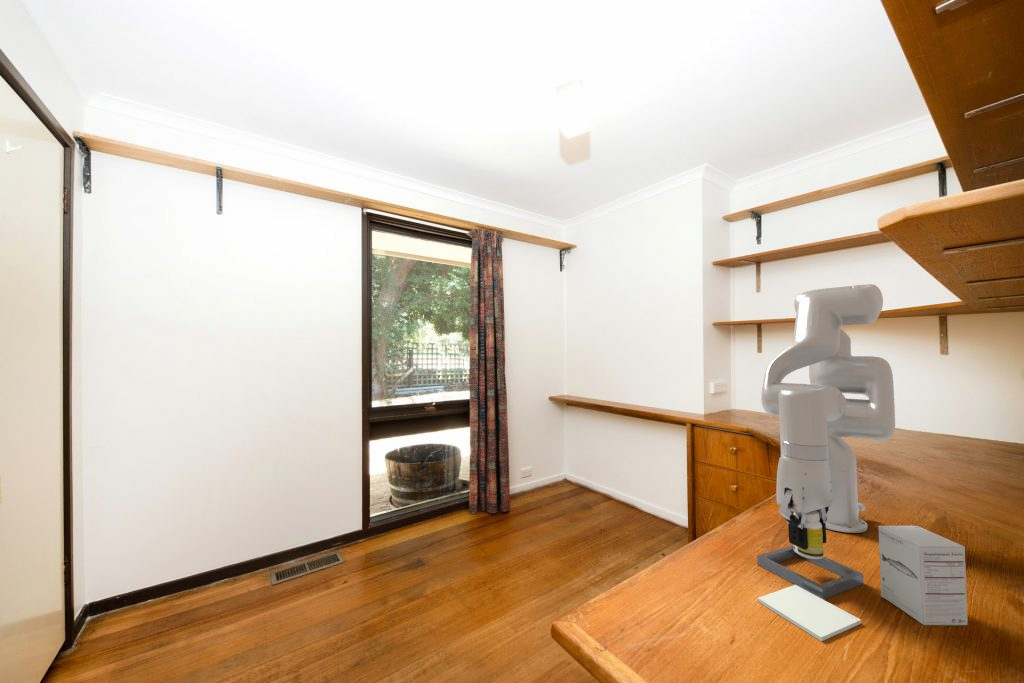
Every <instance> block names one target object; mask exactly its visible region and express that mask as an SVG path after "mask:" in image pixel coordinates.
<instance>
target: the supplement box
mask: <svg viewBox="0 0 1024 683" xmlns="http://www.w3.org/2000/svg"><path fill="white" fill-rule="evenodd" d="M878 548H879V549H878V552H879V553H878V554H879V576H880V578H879V580H880V596H881V598H883V599H885V600H886V601H888V602H889V603H891V604H893V605H894V606H896V607H897V608H899V609H900V610H902V612H904V613H906V614H907V615H909V616H910V617H911V618H912V619H915V620H916V621H917V622H919V623H920V624H921V625H923V626H968V624H969V623H968V599H967V598H968V596H967V593H968V592H967V572H966V547H965V546H964V545H962V544H960V543H957V542H955V541H953V540H950V539H948V538H946V537H943V535H939V534H937V533H934V532H932V531H930V530H927V529H926V528H923V527H921V526H920V525H919V526H918V525H878Z"/></svg>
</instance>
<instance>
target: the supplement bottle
mask: <svg viewBox="0 0 1024 683" xmlns="http://www.w3.org/2000/svg"><path fill="white" fill-rule="evenodd" d="M794 508H795V509H797V506H794ZM794 515H795V516H796V517H797V518H798V519H799V514H798V513H795V512H794ZM819 519H820V518H819V512H818V511H816V510H815V511H811V512H808V513H806V520H805V527H804V528H806V529H807V535H808V549H806V550H805V549H802V548H800V547H798V546H796V545H793V544H792V545H793V549H794V551H795V552H796V553H797V554H799V555H801V556H803V557H806V558H809V559H821V558H823V556H824V543H823V532H822V524H821V523H820V522H819ZM824 557H825V556H824Z"/></svg>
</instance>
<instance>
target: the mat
mask: <svg viewBox="0 0 1024 683" xmlns="http://www.w3.org/2000/svg"><path fill="white" fill-rule="evenodd" d="M757 602H758V603H760V604H761V605H762V606H764V607H766V608H767V609H769V610H770V611H772V612H773V613H776V614H777V615H779V616H780V617H782V618H783V619H785V620H786V621H788V622H790V623H791V624H793V625H794V626H796V627H797V628H799V629H801V630H803V632H805V633H807V634H809V635H810V636H812V637H813V638H815V639H816V640H818V641H820V642H823V641H826V640H828V639H830V638H832V637H834V636H836V635H839V634H841V633H843V632H846V631H848V630H850V629H853V628H855V627H856V626H859V625H861V624H862V620H861V619H860V618H859V617H857V616H855V615H853V614H851V613H849V612H847V611H846V610H844V609H842V608H839V607H838V606H836V605H835V604H832V603H830V602H828V601H827V600H826V599H821V598H819V597H817V596H816V595H814V594H812V593H810V592H808V591H806V590H804V589H802V588H801V587H799V586H797V585H795V584H793V585H790V586H788V587H784V588H782V589H779V590H777V591H776V590H775V591H774V592H771V593H767V594H765V595H763V596H759V597H757Z"/></svg>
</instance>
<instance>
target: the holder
mask: <svg viewBox="0 0 1024 683" xmlns="http://www.w3.org/2000/svg"><path fill="white" fill-rule="evenodd" d="M756 556H757V562H756V564H757V565H758V566H759V567H762V568H764V570H767V571H769V572H770V573H772V574H775V575H776V576H778V577H780V578H782V579H783V580H785V581H788V582H790V583H791V584H793V585H797V586H799V587H801V588H802V589H804V590H806V591H808V592H810V593H812V594H814V595H816V596H817V597H819V598H821V599H823V600H826V599H829V598H831V597H834V596H836V595H839V594H841V593H844V592H846V590H847V591H849V590H852V589H855V588H857V587H859V586H861V585H864V584H865V581H864V580H865V579H864V578H865V577H864V573H862V572H860V571H857V570H855V569H854V568H850V567H848V566H846V565H843V564H841V563H839V562H837V561H835V560H833V559H830V558H828V557H827V556H826V557H825V556H823V558H821V559H809V558H806V557H803V556H801V555H799V554H797V553H796V552H795V551H794V549H793V544H792V545H789V546H785V547H783V548H778V549H775V550H772V551H769V552H768V551H767V552H765V553H761V554H759V555H756ZM797 557H799V558H802V559H804V560H806V561H809V562H810V563H812V564H815V565H817V566H818V567H820V568H823V569H825V570H827V571H829V572H832V573H833V574H836V575H838V576H839V577H838V578H834V579H831V580H829V581H827V582H826V581H825V582H823V583H821V584H819V583H817V582H816V581H814V580H812V579H809V578H808V577H805V576H803V575H802V574H800V573H798V572H796V571H794V570H792V569H790V568H788V567H785V566H784V565H783V564H780V562H784V561H787V560H790V559H793V558H797ZM842 576H843V577H842ZM843 591H844V592H843Z"/></svg>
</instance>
